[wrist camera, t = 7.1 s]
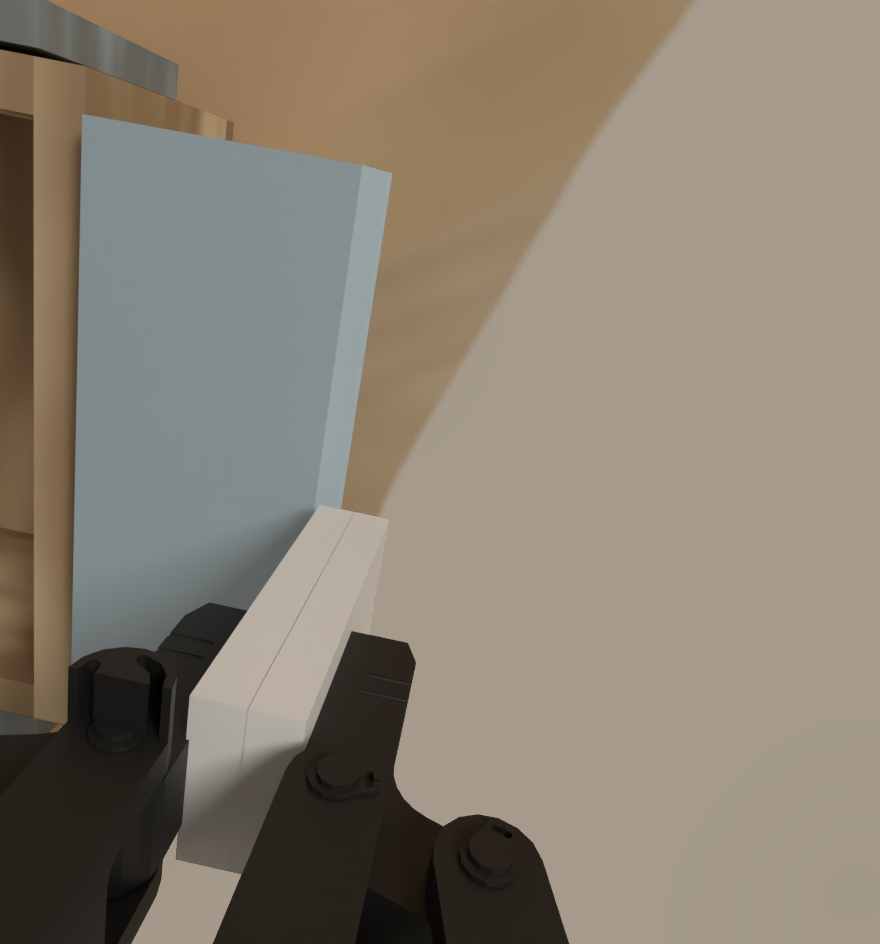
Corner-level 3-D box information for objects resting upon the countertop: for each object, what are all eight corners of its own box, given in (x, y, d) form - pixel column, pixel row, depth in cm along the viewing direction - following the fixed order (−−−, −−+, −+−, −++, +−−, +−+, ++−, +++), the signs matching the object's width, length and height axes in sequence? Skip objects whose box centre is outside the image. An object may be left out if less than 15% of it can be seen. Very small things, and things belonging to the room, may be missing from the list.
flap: (70, 718, 21) (268, 829, 19) (81, 113, 16) (362, 165, 13) (104, 697, 22) (296, 799, 20) (125, 124, 17) (392, 173, 14)
